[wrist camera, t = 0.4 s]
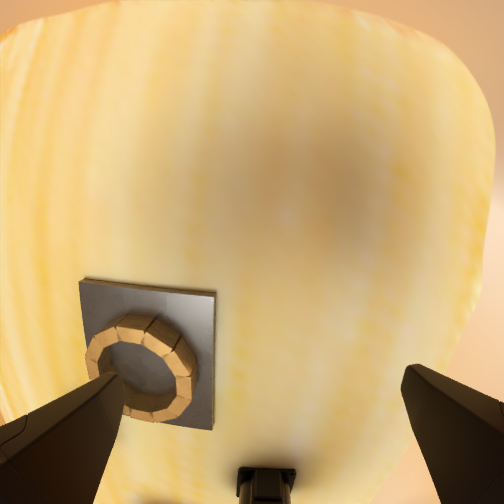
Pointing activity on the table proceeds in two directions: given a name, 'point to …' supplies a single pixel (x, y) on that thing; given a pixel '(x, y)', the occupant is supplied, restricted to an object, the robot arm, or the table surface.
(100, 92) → the table surface
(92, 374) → the ring collar
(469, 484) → the robot arm
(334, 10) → the table surface
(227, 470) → the table surface
